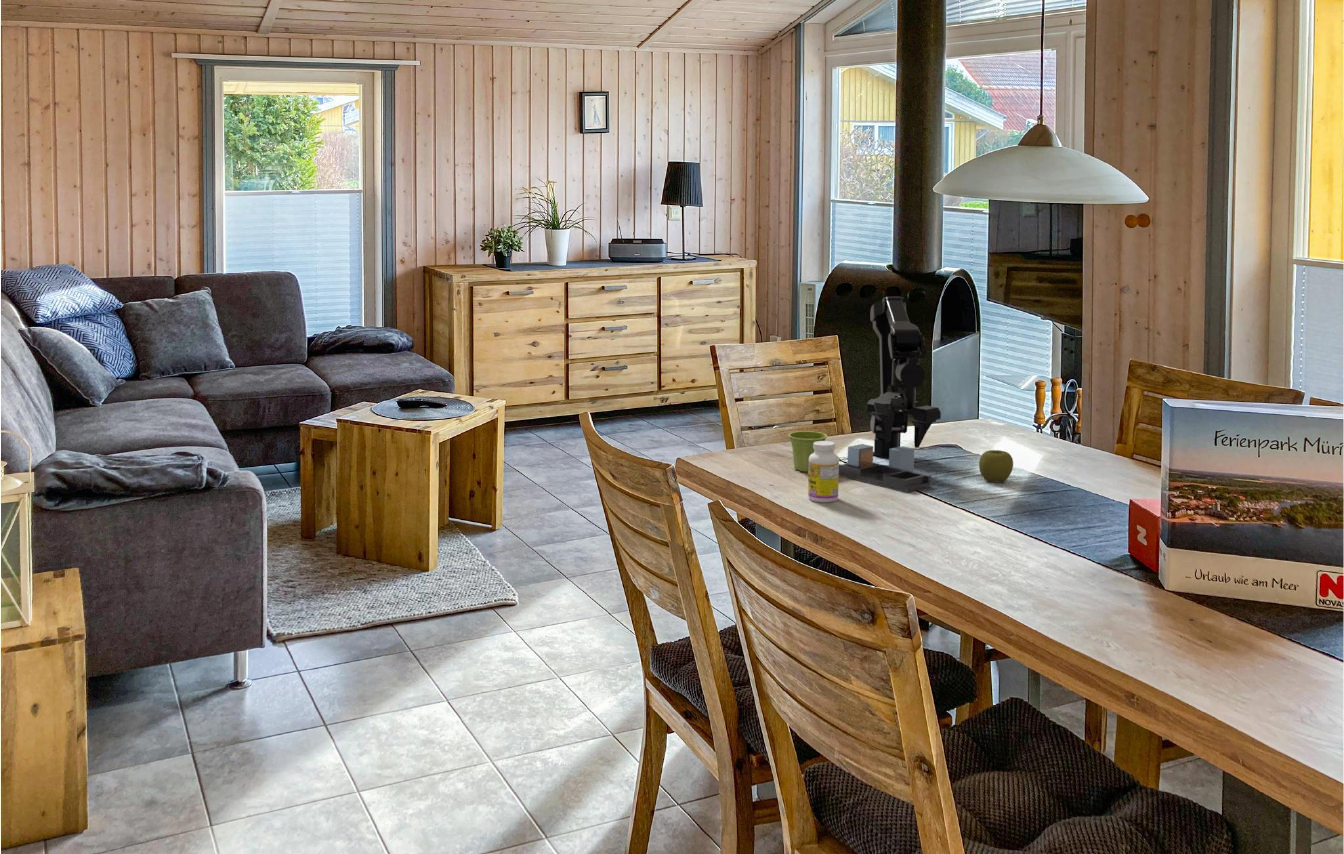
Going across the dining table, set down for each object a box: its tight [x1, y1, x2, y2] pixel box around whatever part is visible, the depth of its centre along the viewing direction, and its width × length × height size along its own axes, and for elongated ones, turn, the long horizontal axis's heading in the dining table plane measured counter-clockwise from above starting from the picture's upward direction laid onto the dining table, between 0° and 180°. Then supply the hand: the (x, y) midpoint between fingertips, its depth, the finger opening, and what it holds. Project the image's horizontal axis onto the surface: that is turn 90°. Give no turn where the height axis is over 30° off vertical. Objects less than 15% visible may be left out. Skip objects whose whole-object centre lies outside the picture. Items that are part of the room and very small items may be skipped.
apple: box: [978, 449, 1014, 483], centre depth 281 cm, size 8×8×7 cm
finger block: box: [888, 445, 915, 472], centre depth 290 cm, size 5×4×6 cm
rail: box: [839, 443, 932, 493], centre depth 281 cm, size 8×22×7 cm, turn 38°
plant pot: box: [788, 430, 828, 473], centre depth 294 cm, size 9×9×9 cm
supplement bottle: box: [807, 440, 840, 504], centre depth 265 cm, size 7×7×13 cm
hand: (901, 444), depth 289 cm, fingers open, 9 cm apart
